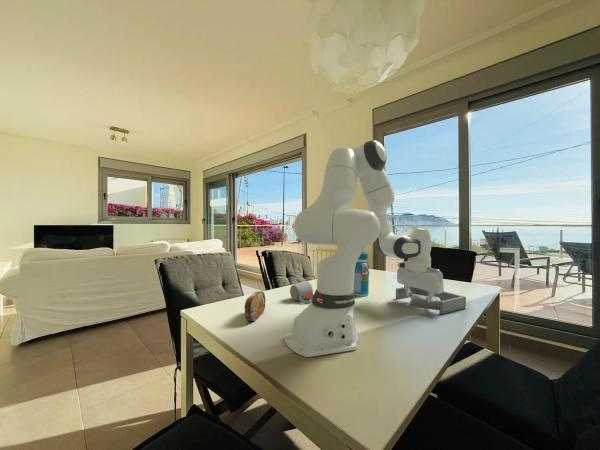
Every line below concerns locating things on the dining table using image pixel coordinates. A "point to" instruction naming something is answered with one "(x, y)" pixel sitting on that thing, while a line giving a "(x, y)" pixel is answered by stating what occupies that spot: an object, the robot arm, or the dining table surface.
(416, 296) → the stone block
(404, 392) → the dining table surface
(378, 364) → the dining table surface
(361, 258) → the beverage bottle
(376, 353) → the dining table surface
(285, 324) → the dining table surface
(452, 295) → the box
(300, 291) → the ceramic mug
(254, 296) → the tin
